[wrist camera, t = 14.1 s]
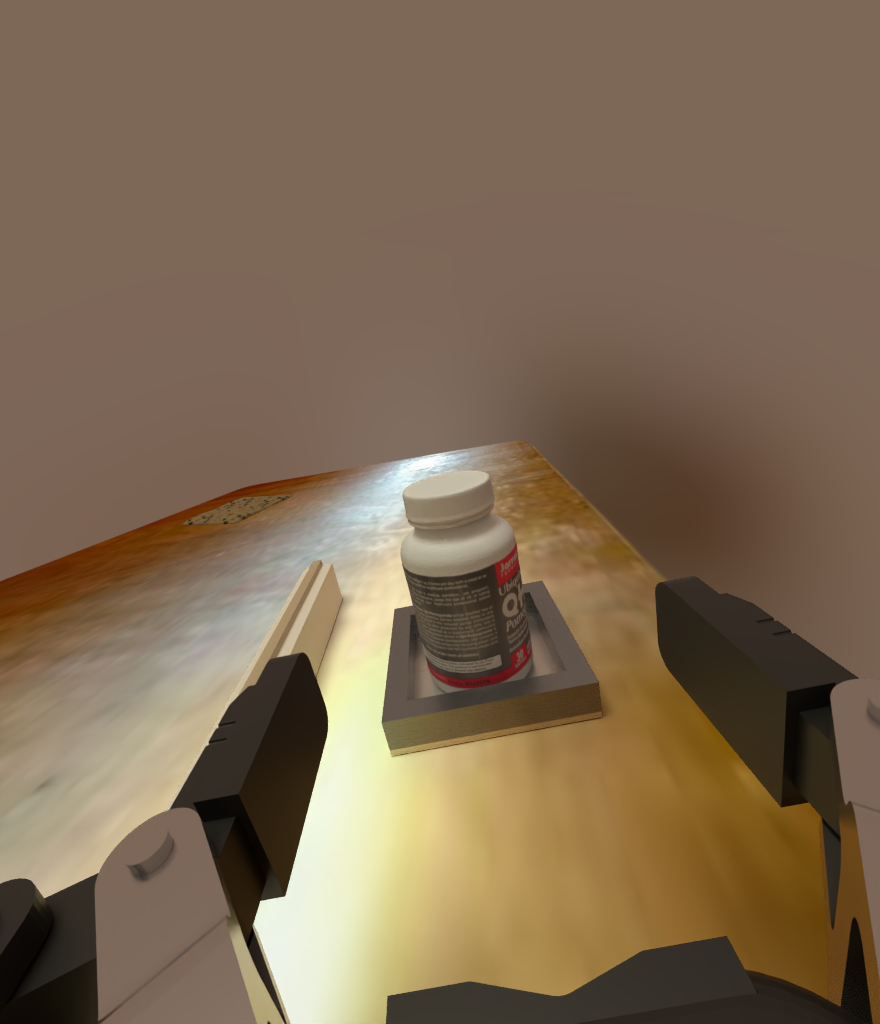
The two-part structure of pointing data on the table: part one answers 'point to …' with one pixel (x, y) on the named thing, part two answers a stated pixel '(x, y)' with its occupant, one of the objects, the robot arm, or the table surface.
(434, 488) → the pill bottle
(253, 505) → the cookie
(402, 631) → the index socket
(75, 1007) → the robot arm
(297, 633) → the door edge sill
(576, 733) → the table surface
